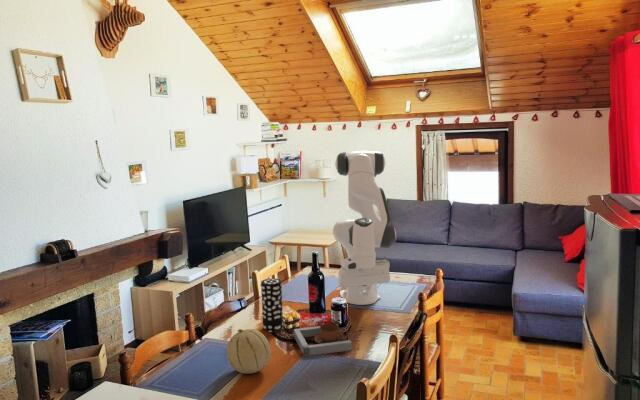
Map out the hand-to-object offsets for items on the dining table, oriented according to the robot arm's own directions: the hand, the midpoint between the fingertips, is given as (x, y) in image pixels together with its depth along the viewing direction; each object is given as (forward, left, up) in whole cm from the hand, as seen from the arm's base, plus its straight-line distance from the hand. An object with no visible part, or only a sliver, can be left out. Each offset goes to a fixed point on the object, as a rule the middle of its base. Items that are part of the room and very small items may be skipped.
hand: (364, 295), depth 204 cm
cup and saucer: (+1, -14, -17) cm, 23 cm away
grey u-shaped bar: (+1, -17, -17) cm, 24 cm away
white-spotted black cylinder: (-20, -33, -17) cm, 42 cm away
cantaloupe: (+16, -47, -17) cm, 53 cm away
